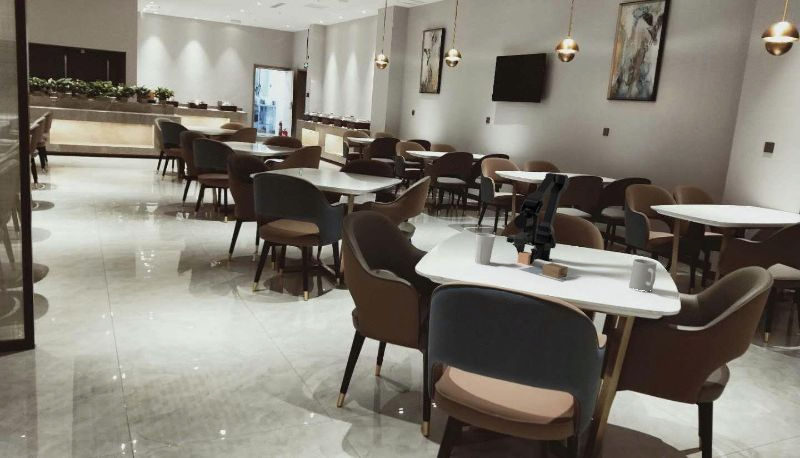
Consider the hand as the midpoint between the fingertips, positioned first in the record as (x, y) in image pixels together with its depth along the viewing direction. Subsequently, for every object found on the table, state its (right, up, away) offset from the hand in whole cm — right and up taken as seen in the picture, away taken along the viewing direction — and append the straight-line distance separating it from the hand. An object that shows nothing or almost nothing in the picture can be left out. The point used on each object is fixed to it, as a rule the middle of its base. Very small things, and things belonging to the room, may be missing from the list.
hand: (525, 262), depth 260 cm
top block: (0, -1, 0) cm, 1 cm away
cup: (-19, 0, -4) cm, 19 cm away
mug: (+40, -10, -24) cm, 48 cm away
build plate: (+7, -4, -14) cm, 16 cm away
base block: (+8, -4, -17) cm, 19 cm away
